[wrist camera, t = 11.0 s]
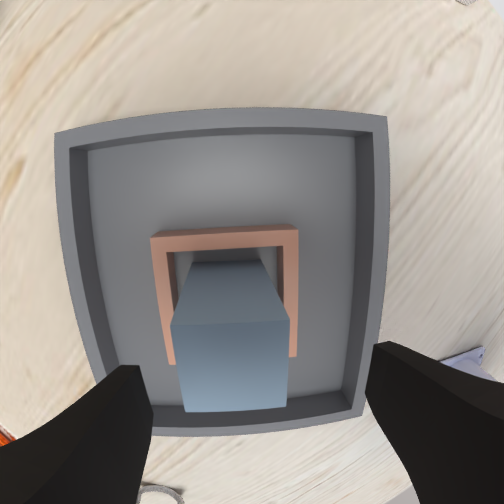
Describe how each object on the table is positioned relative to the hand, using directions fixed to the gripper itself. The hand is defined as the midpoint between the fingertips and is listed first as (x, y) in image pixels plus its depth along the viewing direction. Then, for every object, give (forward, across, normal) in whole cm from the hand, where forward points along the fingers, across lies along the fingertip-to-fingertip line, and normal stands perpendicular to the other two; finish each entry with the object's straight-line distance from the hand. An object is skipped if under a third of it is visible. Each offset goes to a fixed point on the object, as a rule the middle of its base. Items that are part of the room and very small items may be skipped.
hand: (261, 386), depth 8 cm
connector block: (+10, +1, +1) cm, 10 cm away
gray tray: (+10, +1, 0) cm, 10 cm away
